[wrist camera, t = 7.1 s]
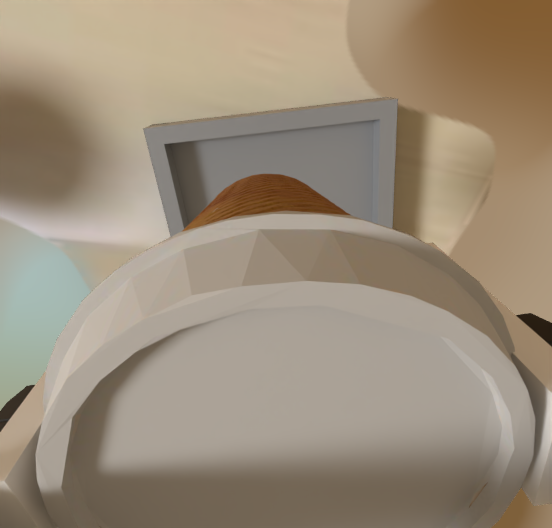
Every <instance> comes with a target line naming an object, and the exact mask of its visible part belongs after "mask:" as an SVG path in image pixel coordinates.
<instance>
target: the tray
mask: <svg viewBox="0 0 552 528" xmlns="http://www.w3.org/2000/svg"><path fill="white" fill-rule="evenodd" d="M397 106H398V99H396V98H389V97H385V98H376V99H368V100H359V101H350V102H342V103H333V104H325V105H316V106H308V107H299V108H291V109H282V110H274V111H265V112H257V113H248V114H239V115H231V116H222V117H214V118H205V119H197V120H188V121H180V122H171V123H163V124H154V125H151V126H148V127H146V128H143V130H144V134H145V138H146V142H147V146H148V149H149V153H150V157H151V161H152V165H153V169H154V173H155V177H156V181H157V185H158V189H159V193H160V196H161V200H162V204H163V208H164V212H165V216H166V220H167V224H168V228H169V232H170V236H171V237H172V236H174V235H175V234H177V233H179V232H181V231H182V230H184V229H185V228H186V227H187V226H188V225H189V224H190V223H191V222H192V221H193V220H194V219H195V218H196V217H197V216H198V215H199V214H200V213H201V212H202V211H203V210H204V209H205V208H206V207H207V206H208V205H209V204H210V203H211V202H212V201H213V200H214V199H215V198H216V196H217V195H218V194H219V193H221V192H222V191H223V190H224V189H225V188H226V187H228V186H230V185H231V184H233V183H234V182H236V181H238V180H241V179H243V178H246V177H249V176H252V175H257V174H281V175H285V176H289V177H292V178H295V179H297V180H299V181H301V182H303V183H305V184H307V185H308V186H309V187H311V188H312V189H313V190H315V191H316V192H318V193H319V194H321V195H322V196H324V197H325V198H327V199H328V200H329V201H331V202H332V203H334V204H335V205H336V206H338V207H340V208H341V209H343V210H344V211H345V212H346V213H348V214H350V215H351V216H354V217H357V218H360V219H364V220H367V221H370V222H373V223H376V224H379V225H382V226H385V227H389V228H393V204H394V179H395V155H396V130H397Z"/></svg>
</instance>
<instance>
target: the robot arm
mask: <svg viewBox="0 0 552 528" xmlns="http://www.w3.org/2000/svg"><path fill="white" fill-rule="evenodd" d="M426 244H428V245H430V246H432V247H434V248H435V249H437V250H439V251H441V252H443V251H442V250H441V249H439V248H438V247H437V246H436V245H435V244H434V243H433V242H432V243H426ZM443 253H444V252H443ZM444 254H445V253H444ZM445 255H446V254H445ZM448 257H449V256H448ZM449 258H450V257H449ZM450 259H451V258H450ZM482 287H483V286H482ZM483 288H484V287H483ZM484 289H485V288H484ZM485 291H486V292H487V294H488V295H489V297H490V298H491V299H492V301H493V302H494V304H495V305H496V307H497V308H498V309H499V311H500V312H501V314H502V315H503V318H504V320H505V323H506V326H507V328H508V331H509V334H510V336H511V339H512V342H513V344H514V347H515V352H513V353H512V361H513V363H514V364H515V366H516V368H517V370H518V372H519V374H520V376H521V378H522V380H523V382H524V384H525V385H526V387H527V389H528V393H529V397H530V400H531V404H532V408H533V411H534V415H535V419H536V421H535V438H534V455H533V458H532V461H531V464H530V466H529V469H528V471H527V474H526V477H525V479H524V482H523V485H522V487H521V488H522V489H523V491H524V492H525V494H526V495H527V497H528V498H529V500H530V501H531V502H532V504H533V506H536V505H542V504H551V503H552V323H550V322H549V321H546V320H544V319H542V318H539V317H538V316H536V315H533V314H531V313H529V314H521V315H515V314H513V313H512V312H511V311H510V310H509V309H508V308H507V307H506V306H505V305H503V304H502V303H501V302H500V301H498V299H497V298H495V297H494V296H493V295H492V294H491V293H490V292H488V291H487V290H486V289H485ZM45 376H46V372H45V373H44V374H43V375H42V377H41V378H40V379H39V381H38V382H37V383H36V385H30V386H26V387H25V388H24V389H23V390H22V391H20V392H19V393H18V394H17V395H16V396H14V397H13V398H12V399H11V400H10V401H8V402H7V403H6V405H5V406H4V407H3V408H2V410H1V411H0V528H58V526H57V525H56V523H55V522H54V521H53V519H52V518H51V516H50V515H49V514H48V512H47V510H46V507H45V504H44V501H43V498H42V494H41V491H40V488H39V485H38V482H37V473H36V455H35V454H36V449H37V444H38V440H39V435H40V430H41V425H42V421H43V418H44V415H45V413H44V407H43V395H44V385H45Z"/></svg>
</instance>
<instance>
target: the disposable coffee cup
mask: <svg viewBox="0 0 552 528" xmlns="http://www.w3.org/2000/svg"><path fill="white" fill-rule="evenodd" d="M513 352H515V347H514V344H513V342H512V339H511V336H510V334H509V331H508V328H507V326H506V323H505V320H504V318H503V315H502V314H501V312H500V311H499V309H498V308H497V307H496V305H495V304H494V302H493V301H492V299H491V298H490V297H489V295H488V294H487V292H486V291H485V289H484V288H483V287H482V285H481V284H480V283H479V282H478V281H477V280H476V279H475V278H474V277H472V276H471V275H470V274H469V273H467V272H466V271H465V270H464V269H462V268H461V267H460V266H459V265H458V264H456V263H455V262H454V261H453V260H452V259H450V258H449V257H448V256H447V255H445V254H444V253H443V252H441V251H439V250H437V249H435V248H434V247H432V246H430V245H428V244H426V243H425V242H423V241H421V240H419V239H417V238H415V237H414V236H412V235H410V234H407V233H404V232H401V231H398V230H395V229H392V228H389V227H385V226H382V225H379V224H376V223H373V222H370V221H367V220H364V219H360V218H357V217H354V216H351V215H350V214H348V213H346V212H345V211H344V210H343V209H341V208H340V207H338V206H336V205H335V204H334V203H332V202H331V201H329V200H328V199H327V198H325V197H324V196H322V195H321V194H319V193H318V192H316V191H315V190H313V189H312V188H311V187H309V186H308V185H307V184H305V183H303V182H301V181H299V180H297V179H295V178H292V177H289V176H285V175H281V174H257V175H252V176H249V177H246V178H243V179H241V180H238V181H236V182H234V183H233V184H231V185H230V186H228V187H226V188H225V189H224V190H223V191H222V192H221V193H219V194H218V195H217V196H216V198H215V199H214V200H213V201H212V202H211V203H210V204H209V205H208V206H207V207H206V208H205V209H204V210H203V211H202V212H201V213H200V214H199V215H198V216H197V217H196V218H195V219H194V220H193V221H192V222H191V223H190V224H189V225H188V226H187V227H186V228H185V229H184V230H182V231H181V232H179V233H177V234H175V235H174V236H172V237H170V238H168V239H166V240H164V241H162V242H161V243H159V244H157V245H155V246H153V247H151V248H149V249H147V250H146V251H144V252H142V253H140V254H138V255H136V256H134V257H133V258H131V259H129V260H128V261H127V262H126V263H124V264H123V265H122V266H121V267H119V268H118V269H117V270H115V271H114V272H113V273H112V274H111V275H110V276H108V277H107V278H106V279H105V280H104V281H103V282H102V283H100V284H99V285H98V286H97V287H96V288H95V289H94V290H93V291H92V292H91V293H90V294H89V295H88V296H87V297H86V298H84V299H83V301H82V302H81V304H80V305H79V307H78V308H77V310H76V311H75V313H74V314H73V316H72V317H71V319H70V320H69V322H68V323H67V325H66V326H65V328H64V329H63V331H62V332H61V334H60V335H59V337H58V338H57V340H56V343H55V346H54V349H53V352H52V354H51V357H50V360H49V363H48V366H47V369H46V376H45V385H44V395H43V407H44V413H45V415H44V418H43V421H42V425H41V430H40V435H39V440H38V444H37V449H36V454H35V455H36V473H37V482H38V485H39V488H40V491H41V494H42V498H43V501H44V504H45V507H46V510H47V512H48V514H49V515H50V516H51V518H52V519H53V521H54V522H55V523H56V525H57V526H58V528H491V527H492V526H493V525H494V524H495V523H497V522H498V521H499V519H500V518H501V517H502V515H503V514H504V512H505V511H506V509H507V508H508V506H509V505H510V503H511V502H512V500H513V499H514V497H515V496H516V494H517V493H518V491H519V490H520V488H521V487H522V485H523V482H524V479H525V477H526V474H527V471H528V469H529V466H530V464H531V461H532V458H533V455H534V438H535V421H536V419H535V415H534V411H533V408H532V404H531V400H530V397H529V393H528V389H527V387H526V385H525V384H524V382H523V380H522V378H521V376H520V374H519V372H518V370H517V368H516V366H515V364H514V363H513V361H512V353H513Z"/></svg>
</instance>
